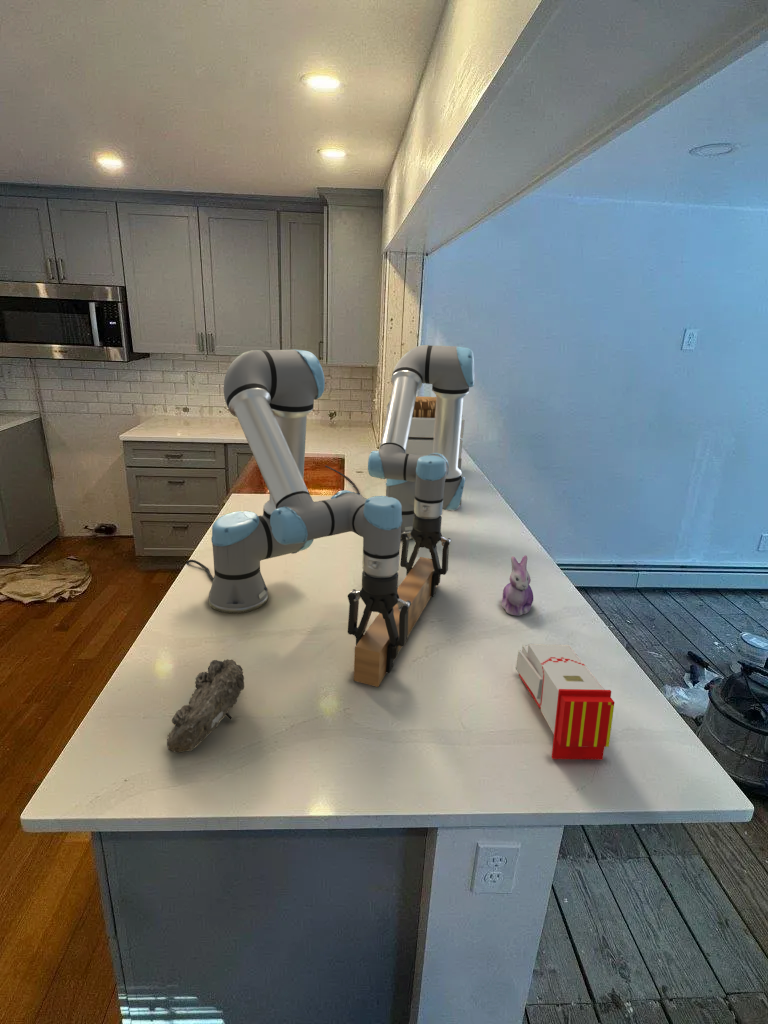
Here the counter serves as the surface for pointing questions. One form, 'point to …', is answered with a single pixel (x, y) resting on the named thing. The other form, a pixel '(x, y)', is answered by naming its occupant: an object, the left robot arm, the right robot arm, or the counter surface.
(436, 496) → the right robot arm
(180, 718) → the fossil
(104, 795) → the counter surface
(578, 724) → the toy
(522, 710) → the counter surface
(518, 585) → the figurine
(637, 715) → the counter surface
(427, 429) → the firewood crate
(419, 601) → the beam
